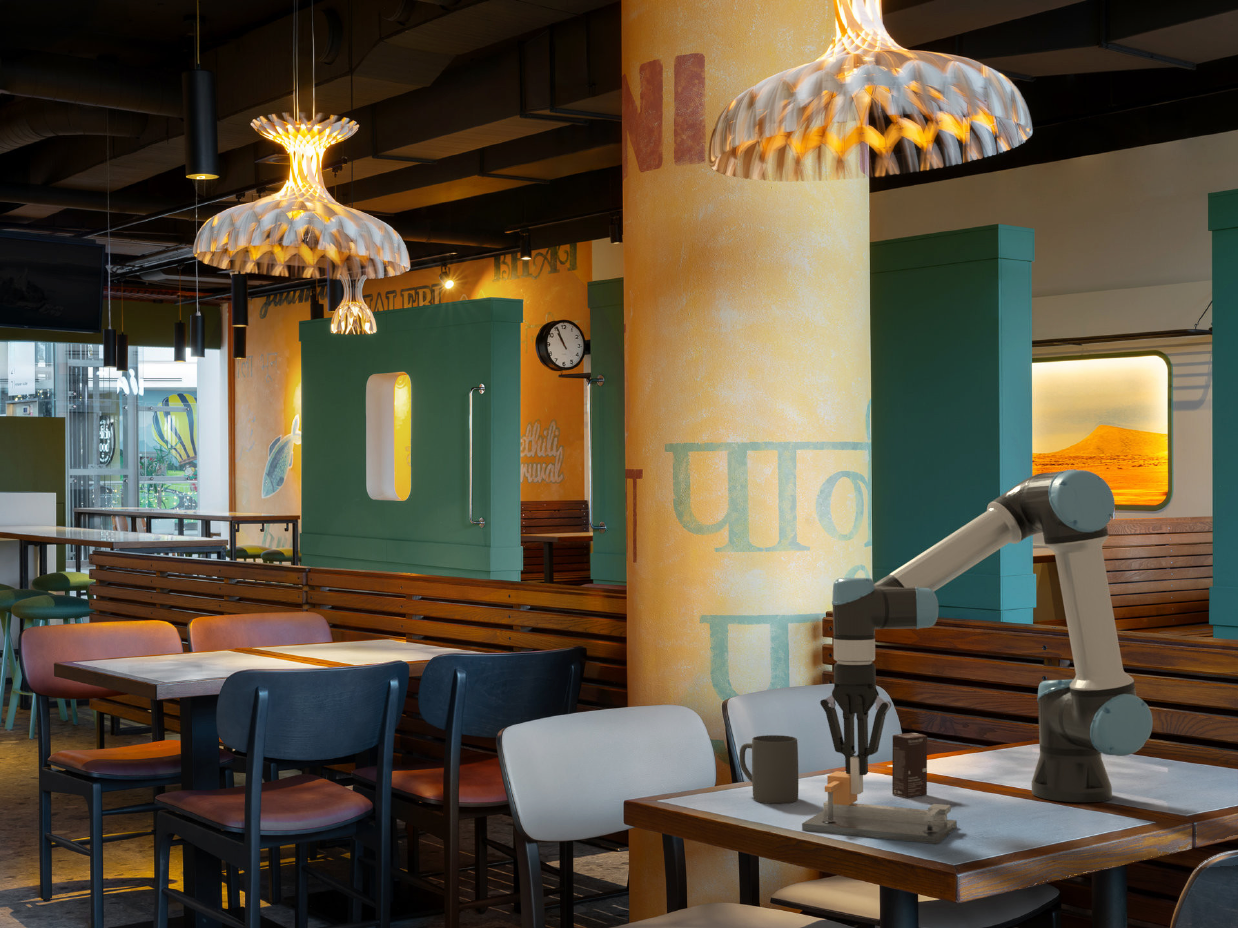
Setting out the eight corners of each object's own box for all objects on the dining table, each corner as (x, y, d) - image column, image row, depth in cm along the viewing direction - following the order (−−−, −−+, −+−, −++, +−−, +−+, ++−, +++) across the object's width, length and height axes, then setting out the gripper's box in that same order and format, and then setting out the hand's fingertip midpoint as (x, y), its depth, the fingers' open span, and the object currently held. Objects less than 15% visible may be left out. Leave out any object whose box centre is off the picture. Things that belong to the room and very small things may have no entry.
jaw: (857, 810, 234) (856, 772, 235) (839, 821, 225) (838, 782, 225) (836, 808, 236) (835, 771, 237) (817, 819, 227) (817, 780, 227)
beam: (951, 822, 226) (950, 805, 226) (937, 834, 217) (936, 816, 217) (829, 810, 236) (828, 794, 236) (810, 821, 227) (810, 804, 227)
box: (908, 798, 253) (906, 737, 254) (891, 794, 257) (890, 734, 257) (929, 794, 256) (928, 734, 257) (912, 791, 260) (911, 731, 261)
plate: (956, 827, 227) (956, 819, 227) (937, 843, 215) (937, 836, 215) (827, 814, 238) (827, 807, 239) (802, 830, 226) (802, 822, 226)
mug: (808, 799, 253) (807, 738, 254) (779, 806, 247) (778, 743, 247) (754, 790, 263) (754, 731, 264) (725, 796, 256) (725, 736, 257)
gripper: (895, 661, 234) (898, 791, 232) (827, 659, 240) (829, 786, 238) (883, 665, 227) (886, 799, 226) (813, 662, 233) (816, 793, 232)
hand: (857, 792), depth 232 cm, fingers closed
